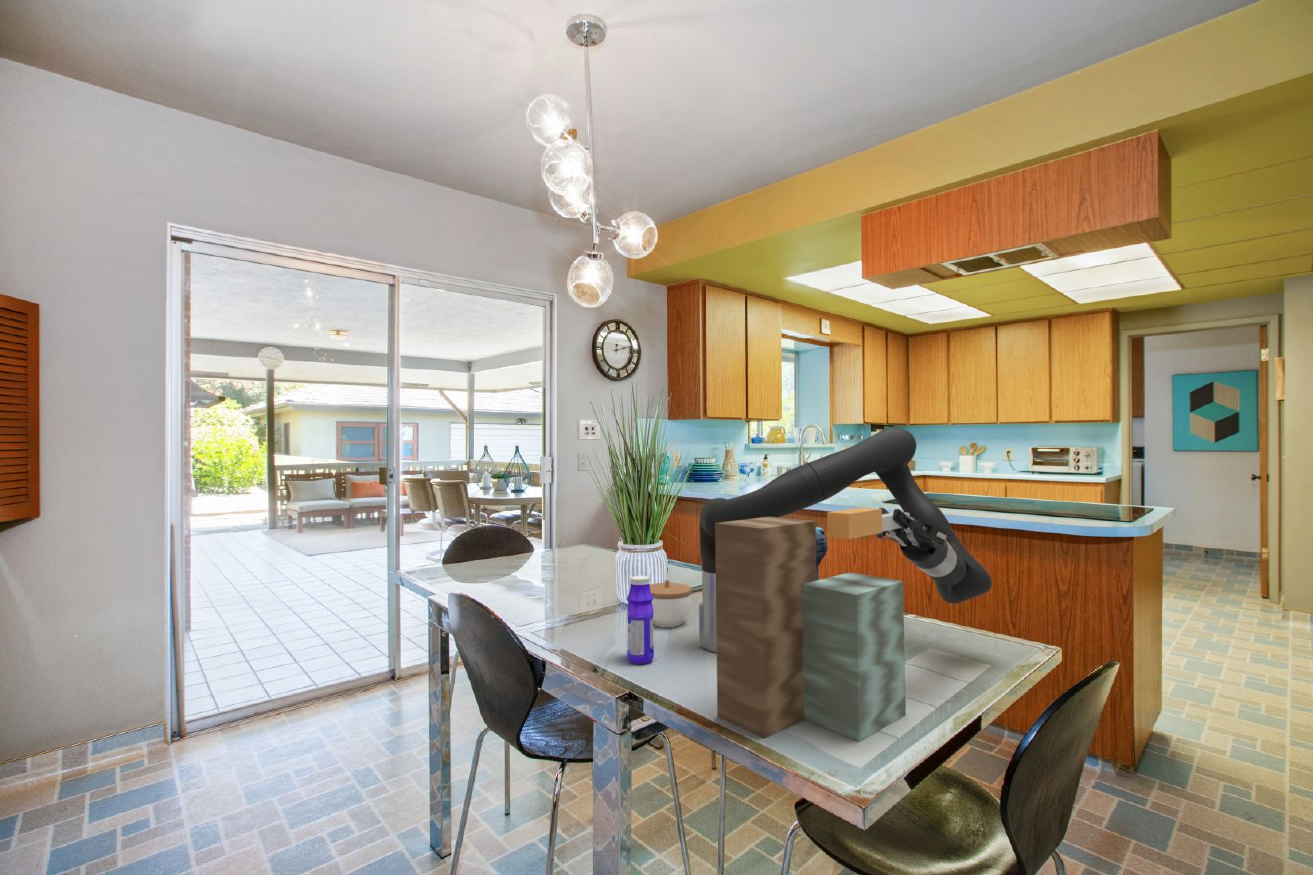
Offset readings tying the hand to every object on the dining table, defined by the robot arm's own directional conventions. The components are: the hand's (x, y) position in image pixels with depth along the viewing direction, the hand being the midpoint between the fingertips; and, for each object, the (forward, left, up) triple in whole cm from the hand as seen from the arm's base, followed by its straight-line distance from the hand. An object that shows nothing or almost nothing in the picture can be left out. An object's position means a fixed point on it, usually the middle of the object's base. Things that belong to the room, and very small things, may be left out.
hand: (887, 513), depth 106 cm
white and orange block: (-2, -5, -3) cm, 6 cm away
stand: (-10, -14, -33) cm, 37 cm away
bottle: (-49, -5, -33) cm, 60 cm away
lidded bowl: (-57, +21, -33) cm, 69 cm away
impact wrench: (-25, +39, -33) cm, 57 cm away
